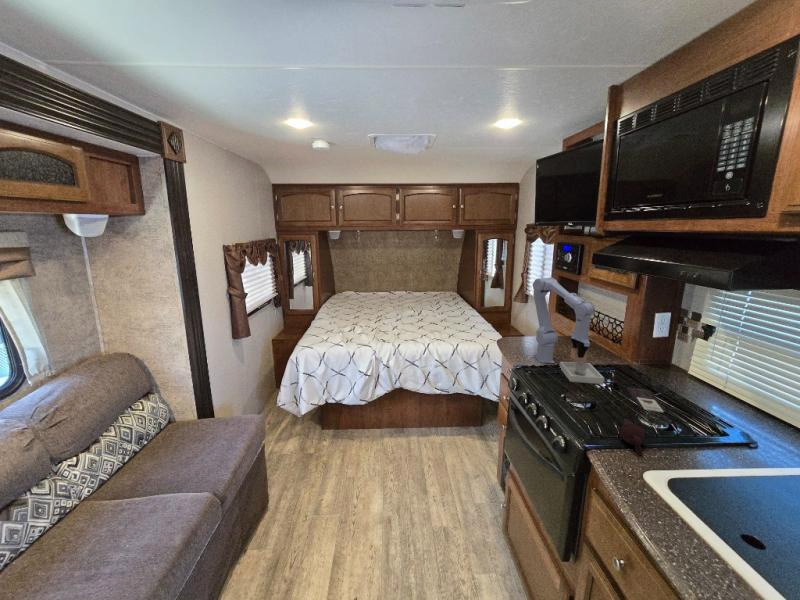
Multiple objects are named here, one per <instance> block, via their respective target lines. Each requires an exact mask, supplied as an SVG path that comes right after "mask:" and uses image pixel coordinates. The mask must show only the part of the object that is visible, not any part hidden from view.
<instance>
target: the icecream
mask: <svg viewBox="0 0 800 600" xmlns="http://www.w3.org/2000/svg"><path fill="white" fill-rule="evenodd" d="M617 431H618V435H620V437H622V440H623V441H624V442H626V443H628V444H630V445H631V446H634V448H635V451H636V453H637V455H639V456H642V455H643V454H644V453H643V448H642V447H641V445H642V444H643V443H644V441H645V438H646V435H645V434H646V433H645V431H646V430H645V428H643V427H642V426H640V425H639V424H635V423H633V422H631V421H630V420H629V419H627V418H624V419H623V424H622V426H621V427H619V428H618V429H617Z"/></svg>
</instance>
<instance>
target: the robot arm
mask: <svg viewBox="0 0 800 600" xmlns="http://www.w3.org/2000/svg"><path fill="white" fill-rule="evenodd" d="M532 287H533V288H532V289H533V300H534V305H535V311H536V315H537V320H538V325H539V327H538V328H537V330H536V336H535V340H536V343H537V347H536V354H534V357H535V359H536V360H537V362H538V363H545V364H555V361H554V359H553V357H554V348H555V347H554V346H555V344H556V343H557V342H558V340H559V335H558V334H557V331H556V328H555V327H553V326H552V325H551V320H550V314H549V309H548V304H547V300H546V296H547V295H548V293H550V292H551V291H552V292H554V293H556V295H558V296H560V297H561V298H562V299H564V303H565V304H567V305H568V306H569V307H570V308H571V309H572V310H574V313H575V325H574V331H573V332H572V334H571V337H570V341H571V344H572V348H577V349H578V358H583V357H584V355H585V353H586V351H587V352H588V349H589V348H590V347H591V342H590V340H589V332H590V326H591V318H592V315H593V314H594V313H595V305H594V304H593V303H592V302H590V301H587V302H586V300H585V299H582V298H581V297H579V296H578V294H577V293H575V292H569V291H568V290H566V289H565V288H564V287H563V286H562V285H561V284H560V283H558V280H557V279H555V278H554V277H552V276H550V277H544V278H543V277H541V278H538V277H537V278H536V279H535V280H534V281H533V282H532Z"/></svg>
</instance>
